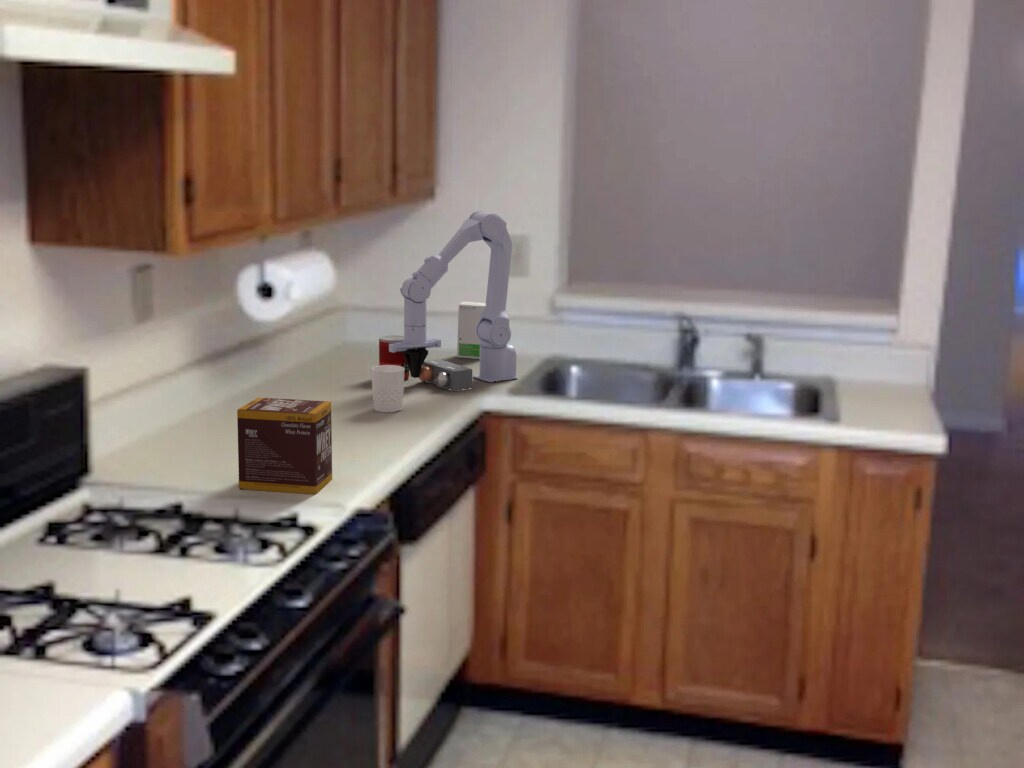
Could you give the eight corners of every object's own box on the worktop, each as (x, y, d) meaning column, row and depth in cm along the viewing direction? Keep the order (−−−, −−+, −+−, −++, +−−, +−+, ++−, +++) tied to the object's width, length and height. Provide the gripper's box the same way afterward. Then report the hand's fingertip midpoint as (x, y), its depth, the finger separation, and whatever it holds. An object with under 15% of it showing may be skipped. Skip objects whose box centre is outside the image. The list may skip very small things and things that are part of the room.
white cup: (411, 409, 302) (411, 368, 300) (386, 415, 297) (386, 373, 295) (389, 404, 308) (389, 363, 306) (364, 409, 302) (364, 368, 300)
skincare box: (456, 358, 364) (456, 304, 361) (461, 353, 371) (461, 301, 367) (485, 359, 363) (485, 305, 360) (489, 355, 369) (490, 302, 366)
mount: (440, 378, 337) (440, 358, 336) (472, 389, 325) (472, 368, 324) (422, 380, 334) (422, 360, 332) (454, 391, 322) (454, 370, 321)
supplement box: (317, 495, 236) (315, 413, 232) (238, 489, 238) (235, 408, 235) (334, 479, 246) (332, 400, 242) (258, 474, 248) (256, 396, 245)
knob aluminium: (459, 382, 329) (459, 368, 328) (466, 384, 326) (467, 370, 325) (434, 385, 324) (434, 371, 324) (442, 388, 322) (442, 374, 321)
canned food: (408, 382, 332) (407, 340, 330) (377, 381, 332) (377, 340, 330) (410, 375, 340) (410, 335, 337) (381, 375, 340) (380, 334, 338)
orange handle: (442, 376, 335) (442, 363, 334) (449, 379, 332) (449, 365, 331) (418, 379, 331) (418, 366, 330) (425, 382, 328) (425, 368, 327)
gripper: (430, 320, 332) (430, 371, 335) (382, 325, 324) (382, 377, 327) (445, 324, 327) (445, 376, 330) (396, 329, 318) (396, 382, 321)
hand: (415, 377), depth 328 cm, fingers closed
